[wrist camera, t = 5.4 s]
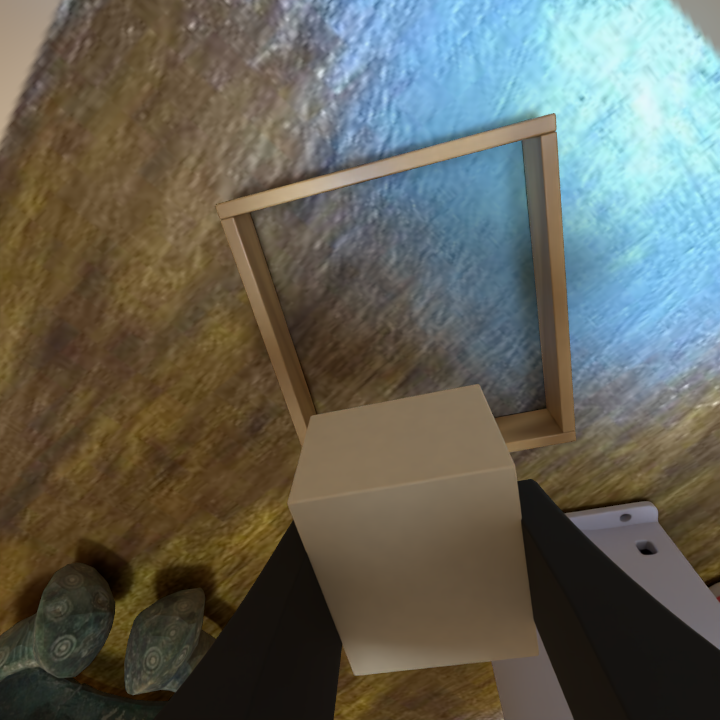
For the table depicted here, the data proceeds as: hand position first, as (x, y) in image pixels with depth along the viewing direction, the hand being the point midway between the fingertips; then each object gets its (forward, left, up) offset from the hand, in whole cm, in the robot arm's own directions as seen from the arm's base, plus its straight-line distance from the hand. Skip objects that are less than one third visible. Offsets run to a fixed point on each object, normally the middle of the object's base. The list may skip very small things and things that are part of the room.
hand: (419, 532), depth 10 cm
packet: (0, 0, -2) cm, 2 cm away
